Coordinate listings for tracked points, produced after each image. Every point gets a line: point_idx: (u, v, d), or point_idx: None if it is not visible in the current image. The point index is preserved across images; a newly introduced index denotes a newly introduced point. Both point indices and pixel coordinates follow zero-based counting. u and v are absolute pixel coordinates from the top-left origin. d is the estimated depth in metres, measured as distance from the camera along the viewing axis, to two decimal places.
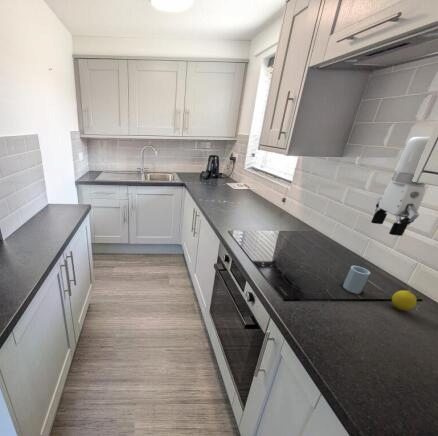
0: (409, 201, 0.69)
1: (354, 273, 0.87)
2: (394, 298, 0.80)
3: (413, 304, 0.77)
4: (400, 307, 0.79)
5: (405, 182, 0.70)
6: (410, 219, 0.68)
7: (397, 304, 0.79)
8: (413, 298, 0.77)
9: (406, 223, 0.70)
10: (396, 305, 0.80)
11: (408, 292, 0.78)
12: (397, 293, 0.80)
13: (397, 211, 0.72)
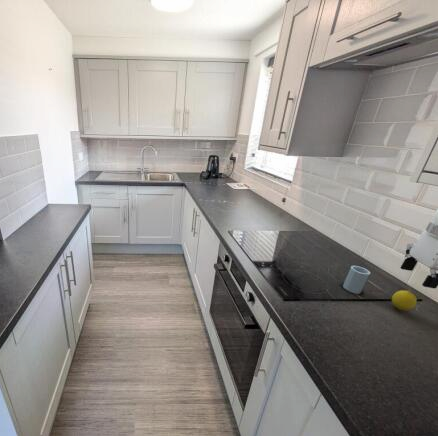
0: None
1: (354, 273, 0.87)
2: (394, 298, 0.80)
3: (413, 304, 0.77)
4: (400, 307, 0.79)
5: None
6: None
7: (397, 304, 0.79)
8: (413, 298, 0.77)
9: None
10: (396, 305, 0.80)
11: (408, 292, 0.78)
12: (397, 293, 0.80)
13: (432, 265, 0.70)
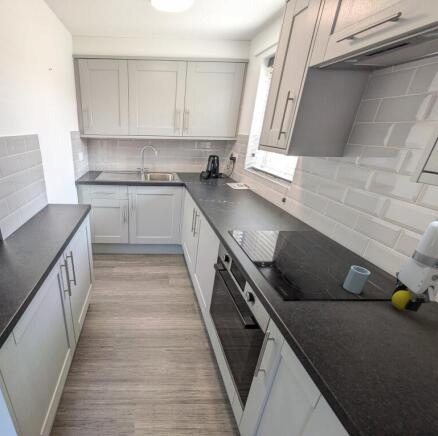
0: (430, 283, 0.71)
1: (354, 273, 0.87)
2: (394, 298, 0.80)
3: None
4: (400, 307, 0.79)
5: (426, 264, 0.71)
6: (425, 301, 0.72)
7: (397, 304, 0.79)
8: None
9: (421, 302, 0.74)
10: (396, 305, 0.80)
11: (408, 292, 0.78)
12: (397, 293, 0.80)
13: (418, 291, 0.73)
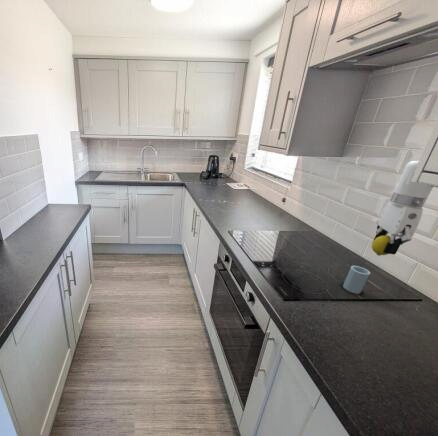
0: (407, 222, 0.72)
1: (354, 273, 0.87)
2: (374, 243, 0.81)
3: None
4: (379, 252, 0.80)
5: (403, 204, 0.72)
6: (402, 241, 0.73)
7: (376, 249, 0.80)
8: None
9: (399, 243, 0.75)
10: (376, 250, 0.81)
11: (387, 236, 0.79)
12: (377, 238, 0.81)
13: (396, 231, 0.74)
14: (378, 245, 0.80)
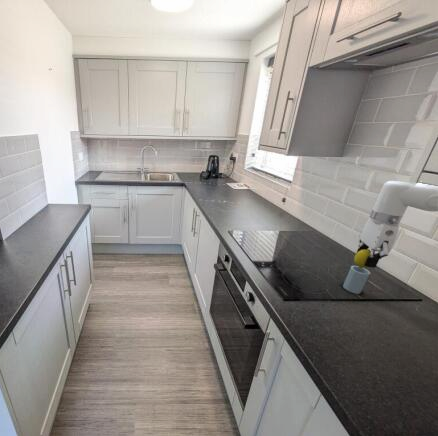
0: (384, 238, 0.77)
1: (354, 273, 0.87)
2: (355, 256, 0.86)
3: None
4: (361, 265, 0.85)
5: (381, 221, 0.77)
6: (380, 256, 0.78)
7: (358, 262, 0.85)
8: None
9: (378, 257, 0.80)
10: (357, 263, 0.86)
11: (368, 250, 0.84)
12: (358, 252, 0.86)
13: (375, 247, 0.79)
14: (359, 258, 0.85)
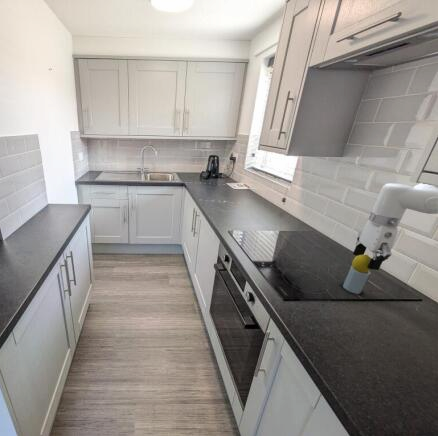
0: (383, 240, 0.77)
1: (354, 273, 0.87)
2: (353, 261, 0.87)
3: None
4: (358, 270, 0.86)
5: (380, 223, 0.78)
6: (384, 257, 0.77)
7: (356, 267, 0.86)
8: (369, 260, 0.84)
9: (381, 260, 0.78)
10: (355, 268, 0.87)
11: (365, 255, 0.85)
12: (356, 257, 0.87)
13: (374, 249, 0.80)
14: (357, 264, 0.86)
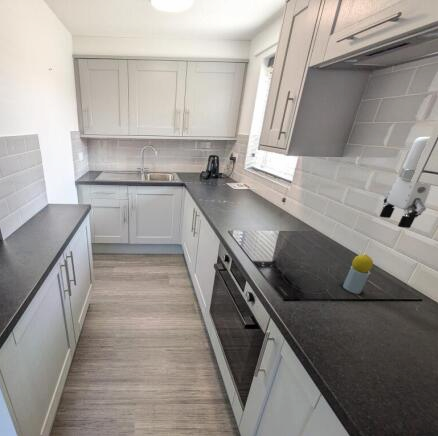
0: (416, 196, 0.76)
1: (354, 273, 0.87)
2: (353, 261, 0.87)
3: (369, 266, 0.84)
4: (358, 270, 0.86)
5: None
6: (418, 212, 0.75)
7: (356, 267, 0.86)
8: (369, 260, 0.84)
9: (414, 216, 0.77)
10: (355, 268, 0.87)
11: (365, 255, 0.85)
12: (356, 257, 0.87)
13: (405, 206, 0.78)
14: (357, 264, 0.86)
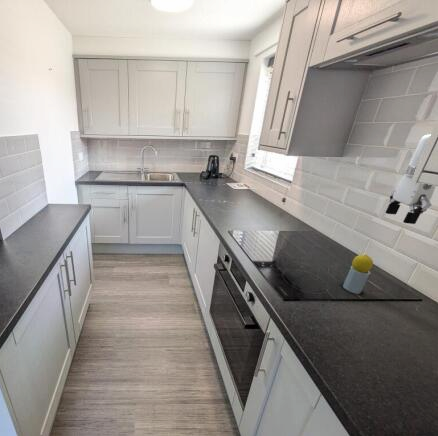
0: (422, 192, 0.77)
1: (354, 273, 0.87)
2: (353, 261, 0.87)
3: (369, 266, 0.84)
4: (358, 270, 0.86)
5: None
6: (423, 208, 0.76)
7: (356, 267, 0.86)
8: (369, 260, 0.84)
9: (419, 212, 0.78)
10: (355, 268, 0.87)
11: (365, 255, 0.85)
12: (356, 257, 0.87)
13: (411, 202, 0.79)
14: (357, 264, 0.86)
